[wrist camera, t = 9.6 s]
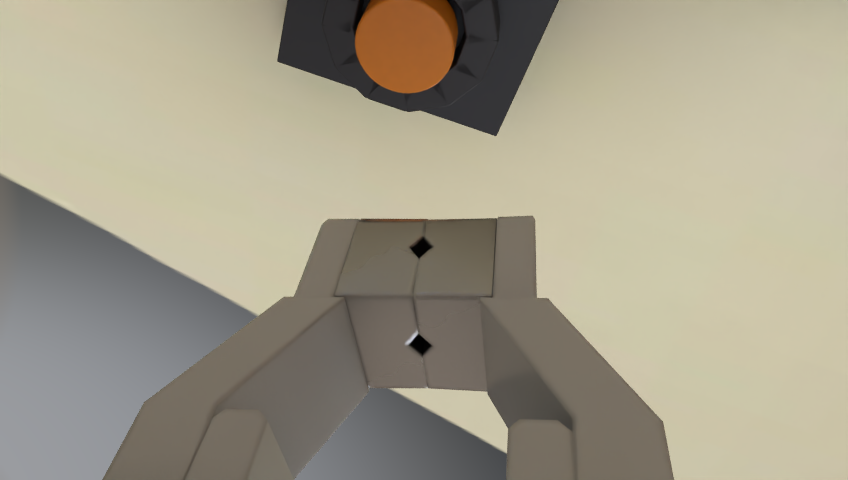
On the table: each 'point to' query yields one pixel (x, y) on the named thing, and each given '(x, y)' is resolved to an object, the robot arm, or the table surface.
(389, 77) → the button
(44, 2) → the table surface
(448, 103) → the control block
